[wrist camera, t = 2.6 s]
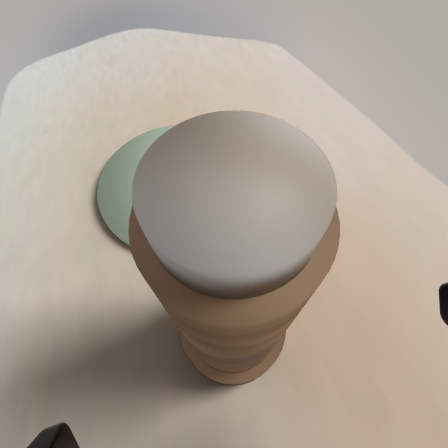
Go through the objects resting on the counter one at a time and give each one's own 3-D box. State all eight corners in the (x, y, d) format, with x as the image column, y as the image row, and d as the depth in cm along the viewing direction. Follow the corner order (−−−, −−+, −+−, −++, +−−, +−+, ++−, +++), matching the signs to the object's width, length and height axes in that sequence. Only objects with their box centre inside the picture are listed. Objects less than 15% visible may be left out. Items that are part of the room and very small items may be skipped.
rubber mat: (206, 286, 18) (205, 283, 18) (65, 212, 21) (62, 208, 21) (281, 159, 23) (282, 155, 23) (158, 113, 26) (157, 108, 25)
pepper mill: (254, 406, 15) (323, 411, 4) (165, 352, 16) (18, 233, 5) (295, 311, 17) (416, 134, 6) (214, 270, 19) (187, 61, 7)
